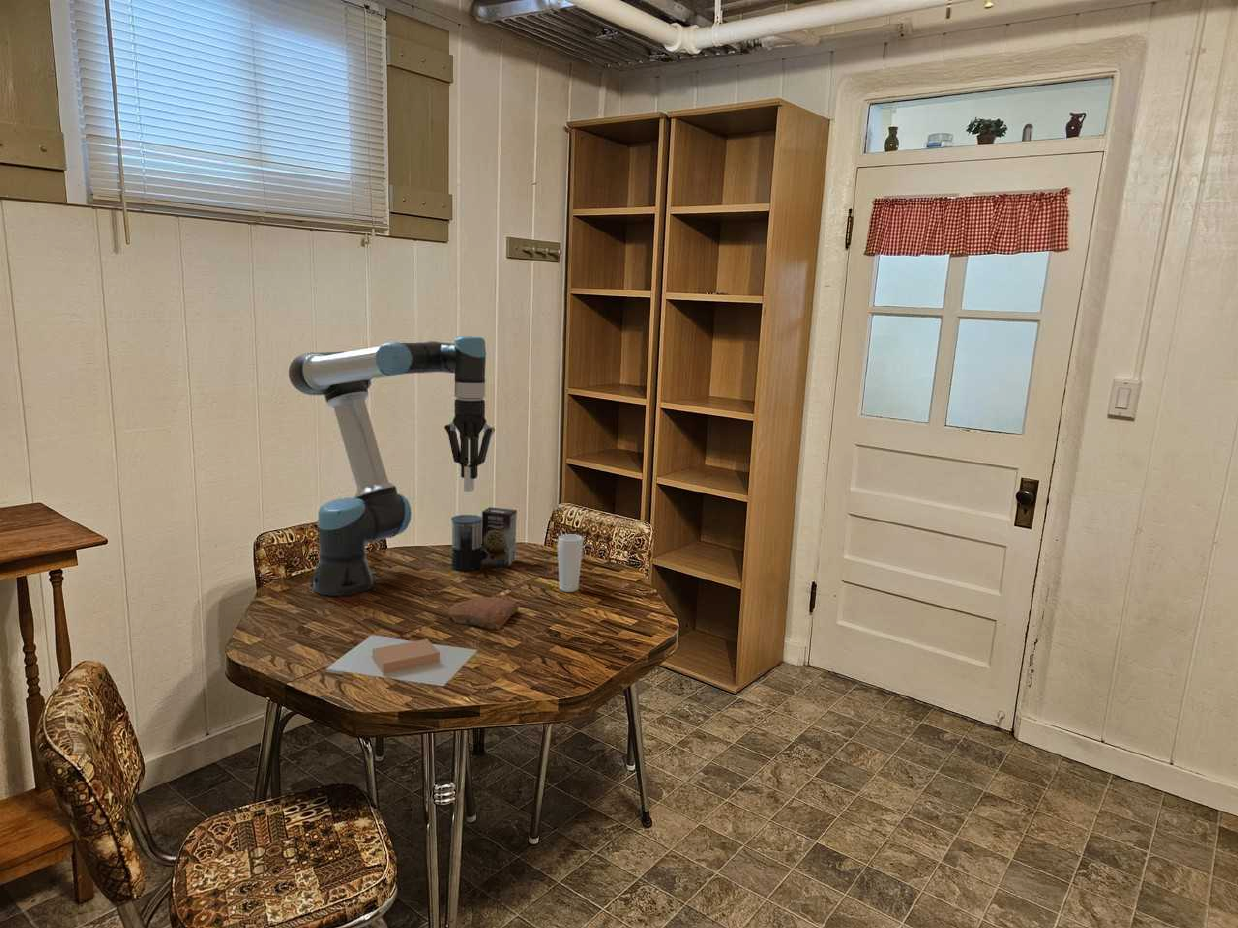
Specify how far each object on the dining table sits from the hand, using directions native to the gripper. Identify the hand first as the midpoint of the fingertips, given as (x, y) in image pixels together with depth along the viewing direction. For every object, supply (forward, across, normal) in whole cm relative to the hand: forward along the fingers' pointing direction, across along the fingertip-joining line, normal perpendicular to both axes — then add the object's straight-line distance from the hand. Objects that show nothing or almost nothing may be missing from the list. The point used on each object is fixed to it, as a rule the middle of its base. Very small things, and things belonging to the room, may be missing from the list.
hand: (469, 490), depth 201 cm
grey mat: (+29, -2, +39) cm, 49 cm away
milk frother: (+30, +7, -25) cm, 40 cm away
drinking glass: (+30, -23, -16) cm, 41 cm away
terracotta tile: (+27, -7, +36) cm, 46 cm away
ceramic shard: (+30, -8, +11) cm, 33 cm away
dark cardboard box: (+30, +4, -32) cm, 44 cm away
